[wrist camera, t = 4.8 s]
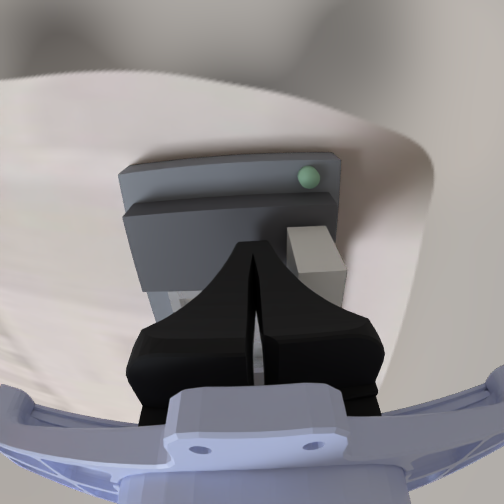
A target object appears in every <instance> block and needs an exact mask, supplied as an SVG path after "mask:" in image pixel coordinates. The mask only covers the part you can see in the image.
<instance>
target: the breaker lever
mask: <svg viewBox="0 0 504 504" xmlns="http://www.w3.org/2000/svg"><path fill="white" fill-rule="evenodd" d="M287 268H288V269H289V270H290V271H291V272H292V273H293V274H294V275H295V276H296V277H297V278H298V279H299V280H300V281H301V282H302V283H303V284H304V285H306V286H307V287H308V288H309V289H311V290H312V291H313V292H315V293H316V294H318V295H319V296H321V297H323V298H324V299H326V300H327V301H329V302H331V303H333V304H335V305H337V306H339V307H342V301H343V295H344V288H345V282H346V275H347V268H346V266H345V264H344V262H343V260H342V258H341V256H340V254H339V252H338V250H337V247H336V245H335V243H334V241H333V239H332V237H331V235H330V233H329V231H328V229H327V227H326V226H307V227H287Z"/></svg>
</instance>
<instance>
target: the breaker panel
mask: <svg viewBox="0 0 504 504" xmlns="http://www.w3.org/2000/svg"><path fill="white" fill-rule="evenodd" d="M340 173H341V160H340V159H339V158H338V157H337V156H336V155H335V154H334V153H332V152H298V153H262V154H242V155H226V156H213V157H201V158H190V159H180V160H171V161H162V162H154V163H146V164H138V165H131V166H128V167H127V168H126V169H124V170H123V171H122V172H121V173H119V174H118V178H119V183H120V188H121V193H122V198H123V203H124V207H125V212H126V213H125V215H124V216H123V222H124V226H125V230H126V234H127V238H128V242H129V245H130V249H131V253H132V257H133V260H134V264H135V267H136V271H137V274H138V278H139V281H140V284H141V288H142V291H143V292H147V295H148V298H149V301H150V304H151V307H152V311H153V314H154V317H155V320H156V323H157V322H159V321H161V320H163V319H164V318H166V317H168V316H170V315H171V314H173V310H172V306H171V303H170V299H169V295H168V291H199V290H204V289H205V288H206V286H207V285H208V284H209V283H210V282H211V281H212V280H213V278H214V277H215V276H216V275H217V273H218V272H219V271H220V270H221V268H222V267H223V265H224V264H225V262H226V261H227V259H228V258H229V256H230V254H231V253H232V251H233V249H234V247H235V245H236V243H237V242H243V241H263V240H267V241H268V242H270V244H271V246H272V248H273V249H274V251H275V252H276V254H277V255H278V257H279V258H280V259H281V260H282V262H283V263H284V264H285V265H286V267H287V227H307V226H326V227H327V229H328V231H329V233H330V235H331V237H332V239H333V241H334V243H335V241H336V230H337V218H338V205H339V190H340ZM254 386H264V372H262V373H254Z"/></svg>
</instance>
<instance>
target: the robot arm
mask: <svg viewBox="0 0 504 504" xmlns="http://www.w3.org/2000/svg"><path fill="white" fill-rule="evenodd" d="M256 313H257V320H258V326H259V332H260V339H261V345H262V353H263V370H264V386H254V364H253V346H254V333H255V319H256ZM384 356H385V352H384V347H383V345H382V342H381V340H380V338H379V336H378V334H377V332H376V330H375V328H374V327H373V325H372V324H371V322H370V320H369V319H368V318H365V317H363V316H360V315H357V314H355V313H352V312H349V311H347V310H345V309H343V308H341V307H339V306H337V305H335V304H333V303H331V302H329V301H327V300H326V299H324V298H323V297H321V296H319V295H318V294H316V293H315V292H313V291H312V290H311V289H309V288H308V287H307V286H306V285H304V284H303V283H302V282H301V281H300V280H299V279H298V278H297V277H296V276H295V275H294V274H293V273H292V272H291V271H290V270H289V269H288V268H287V267H286V265H285V264H284V263H283V262H282V260H281V259H280V258H279V257H278V255H277V254H276V252H275V251H274V249H273V248H272V246H271V244H270V242H268V241H267V240H263V241H243V242H237V243H236V245H235V247H234V249H233V251H232V253H231V254H230V256H229V258H228V259H227V261H226V262H225V264H224V265H223V267H222V268H221V270H220V271H219V272H218V273H217V275H216V276H215V277H214V278H213V280H212V281H211V282H210V283H209V284H208V285H207V286H206V288H205V289H204V290H203V291H202V292H201V293H199V294H198V295H197V296H196V297H195V298H194V299H192V300H191V301H190V302H189V303H187V304H186V305H185V306H183V307H182V308H180V309H179V310H178V311H176V312H174V313H173V314H171V315H170V316H168V317H166V318H164V319H163V320H161V321H159V322H157V323H155V324H153V325H151V326H149V327H147V328H144V329H142V330H141V332H140V334H139V336H138V338H137V340H136V342H135V344H134V347H133V349H132V352H131V355H130V358H129V361H128V365H127V368H126V376H127V379H128V382H129V384H130V385H131V387H132V389H133V391H134V392H135V394H136V396H137V397H138V399H139V401H140V402H141V404H142V405H143V406H142V411H141V415H140V420H139V424H134V423H127V422H120V421H113V420H107V419H101V418H95V417H90V416H85V415H80V414H75V413H70V412H66V411H62V410H57V409H53V408H49V407H45V406H42V405H38V404H35V403H34V401H33V400H32V398H31V397H30V396H29V395H28V394H27V393H26V392H24V391H23V390H21V389H18V388H15V387H11V386H8V385H5V384H1V386H0V452H1V453H2V454H3V455H5V456H6V457H7V458H9V459H10V460H11V461H13V462H14V463H15V464H17V465H18V466H20V467H22V468H24V469H27V470H29V471H31V472H33V473H36V474H38V475H40V476H43V477H45V478H47V479H50V480H52V481H55V482H57V483H59V484H62V485H64V486H67V487H70V488H72V489H75V490H78V491H80V492H83V493H86V494H89V495H92V496H95V497H98V498H101V499H104V500H108V501H111V502H114V503H117V504H411V501H410V497H409V493H408V492H409V491H412V490H414V489H417V488H419V487H422V486H424V485H427V484H429V483H432V482H434V481H436V480H439V479H441V478H443V477H445V476H447V475H449V474H452V473H454V472H456V471H458V470H460V469H462V468H464V467H466V466H468V465H470V464H471V463H474V462H476V461H477V460H479V459H481V458H483V457H485V456H487V455H488V454H490V453H492V452H494V451H495V450H497V449H499V448H501V447H503V446H504V365H502V366H500V367H498V368H496V369H495V370H494V371H493V372H492V373H491V374H490V375H489V377H488V378H487V380H486V382H485V383H484V384H481V385H478V386H476V387H473V388H470V389H468V390H464V391H461V392H458V393H456V394H452V395H449V396H446V397H443V398H440V399H436V400H433V401H429V402H426V403H423V404H419V405H415V406H411V407H407V408H403V409H398V410H394V411H390V412H385V413H381V411H380V408H379V405H378V402H377V398H376V396H377V394H378V389H377V386H376V383H375V381H376V378H377V376H378V373H379V371H380V368H381V366H382V363H383V360H384Z"/></svg>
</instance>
